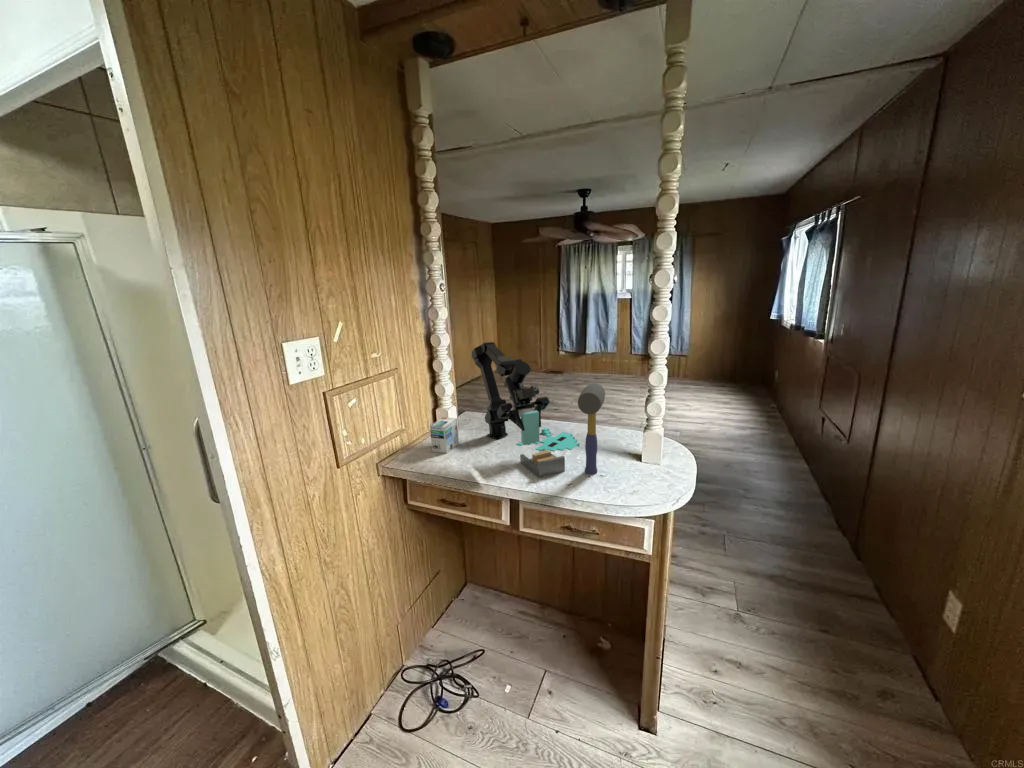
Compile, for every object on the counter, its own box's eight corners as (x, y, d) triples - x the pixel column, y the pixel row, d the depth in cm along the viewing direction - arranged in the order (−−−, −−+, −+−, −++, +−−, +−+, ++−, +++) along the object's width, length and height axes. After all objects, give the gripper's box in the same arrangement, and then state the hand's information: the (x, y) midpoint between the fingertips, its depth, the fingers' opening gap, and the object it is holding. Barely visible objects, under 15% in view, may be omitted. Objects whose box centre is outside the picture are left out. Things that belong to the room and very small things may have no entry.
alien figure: (516, 449, 151) (561, 461, 140) (516, 443, 151) (561, 455, 139) (544, 432, 167) (587, 442, 155) (544, 427, 166) (587, 437, 154)
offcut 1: (532, 467, 131) (532, 453, 130) (548, 463, 134) (547, 449, 133) (535, 469, 130) (535, 455, 128) (551, 465, 132) (550, 452, 131)
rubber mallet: (600, 486, 120) (601, 392, 113) (575, 483, 123) (576, 391, 115) (605, 468, 132) (606, 382, 124) (582, 466, 134) (583, 381, 127)
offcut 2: (537, 471, 129) (536, 459, 128) (552, 466, 131) (552, 455, 130) (540, 473, 127) (539, 462, 126) (555, 469, 130) (555, 458, 129)
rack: (518, 465, 137) (518, 448, 135) (543, 459, 141) (543, 442, 139) (538, 482, 124) (538, 463, 123) (565, 475, 129) (565, 456, 127)
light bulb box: (447, 453, 149) (444, 427, 146) (431, 452, 151) (428, 425, 148) (459, 442, 159) (457, 417, 156) (444, 441, 161) (442, 416, 158)
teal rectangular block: (521, 443, 137) (520, 413, 134) (536, 439, 139) (536, 410, 136) (524, 445, 135) (523, 414, 132) (539, 441, 137) (539, 411, 135)
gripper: (498, 381, 131) (514, 423, 124) (547, 374, 138) (564, 413, 132) (490, 398, 140) (504, 437, 133) (536, 390, 147) (552, 427, 141)
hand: (532, 428), depth 134 cm, fingers closed on teal rectangular block, 6 cm apart
